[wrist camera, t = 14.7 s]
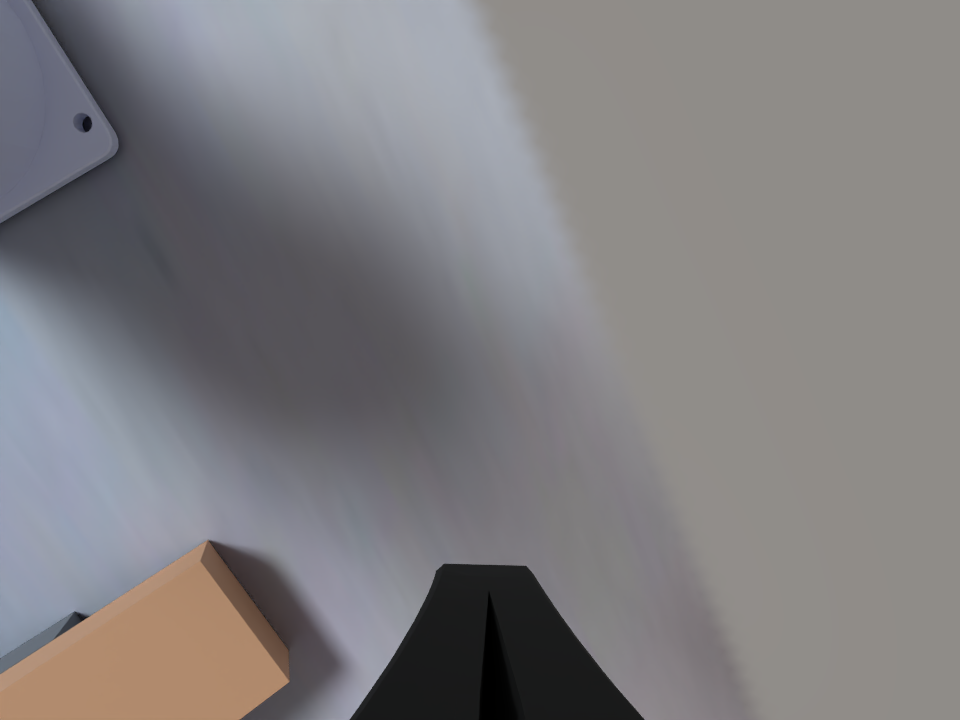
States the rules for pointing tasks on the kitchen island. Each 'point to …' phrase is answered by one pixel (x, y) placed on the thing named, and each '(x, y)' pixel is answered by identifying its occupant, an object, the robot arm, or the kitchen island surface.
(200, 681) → the tile head
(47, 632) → the tile
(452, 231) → the kitchen island surface
